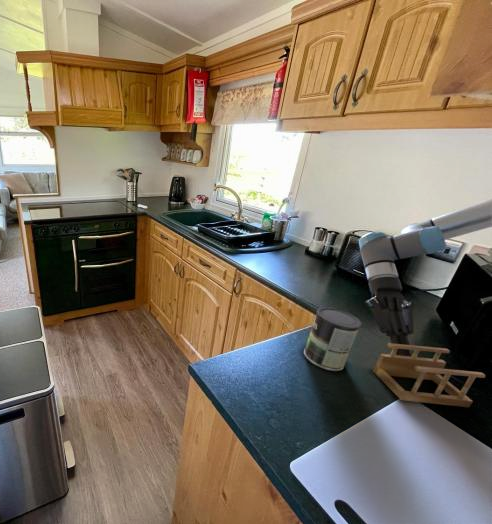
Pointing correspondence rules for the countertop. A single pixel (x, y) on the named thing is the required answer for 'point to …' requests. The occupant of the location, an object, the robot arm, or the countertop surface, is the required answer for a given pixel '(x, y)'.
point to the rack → (423, 376)
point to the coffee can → (331, 338)
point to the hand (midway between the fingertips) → (404, 359)
